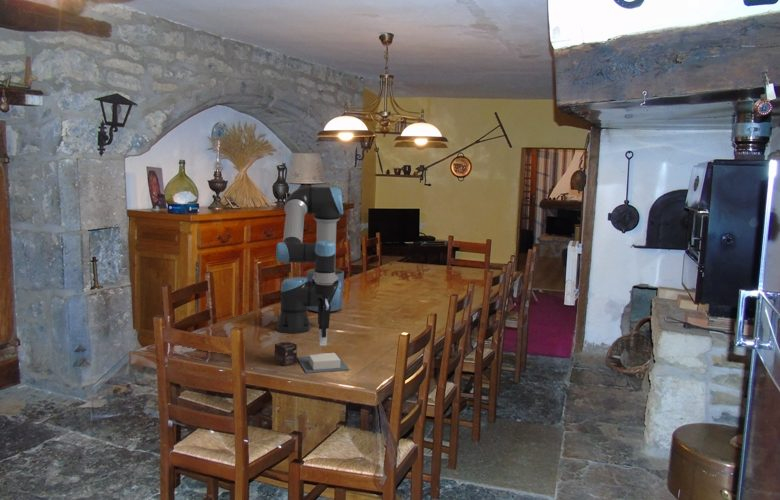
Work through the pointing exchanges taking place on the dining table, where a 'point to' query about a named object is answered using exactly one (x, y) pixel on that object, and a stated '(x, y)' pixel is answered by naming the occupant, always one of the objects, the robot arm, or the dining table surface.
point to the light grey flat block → (324, 361)
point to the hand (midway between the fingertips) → (322, 344)
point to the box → (285, 353)
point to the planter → (340, 278)
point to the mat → (308, 369)
